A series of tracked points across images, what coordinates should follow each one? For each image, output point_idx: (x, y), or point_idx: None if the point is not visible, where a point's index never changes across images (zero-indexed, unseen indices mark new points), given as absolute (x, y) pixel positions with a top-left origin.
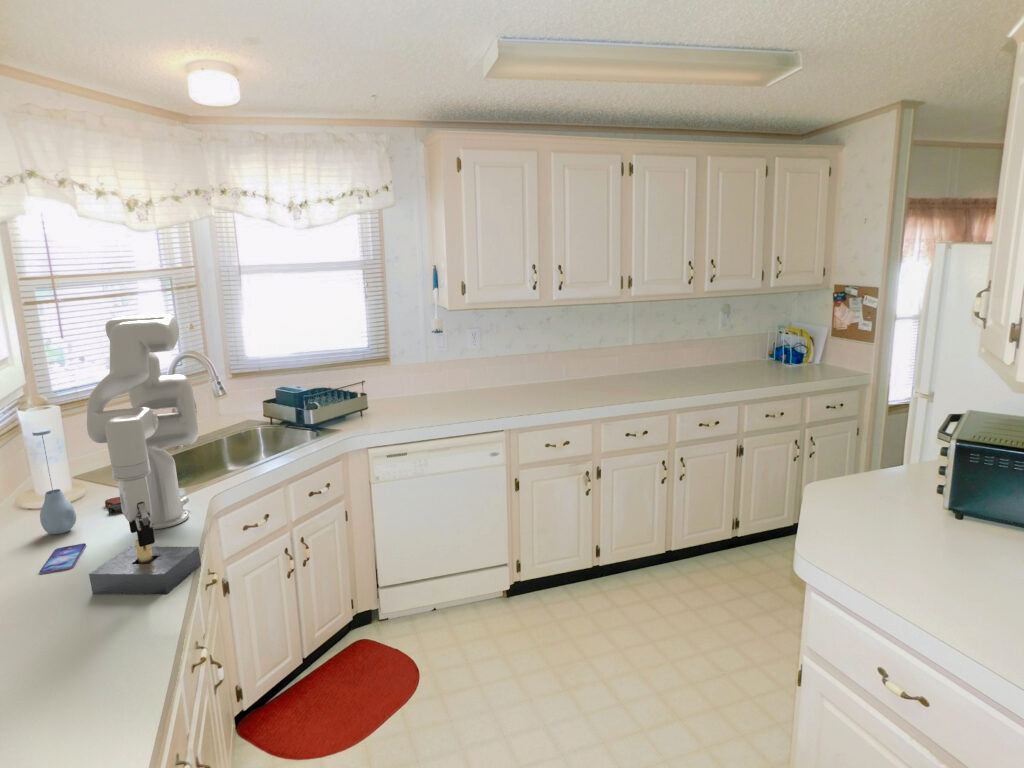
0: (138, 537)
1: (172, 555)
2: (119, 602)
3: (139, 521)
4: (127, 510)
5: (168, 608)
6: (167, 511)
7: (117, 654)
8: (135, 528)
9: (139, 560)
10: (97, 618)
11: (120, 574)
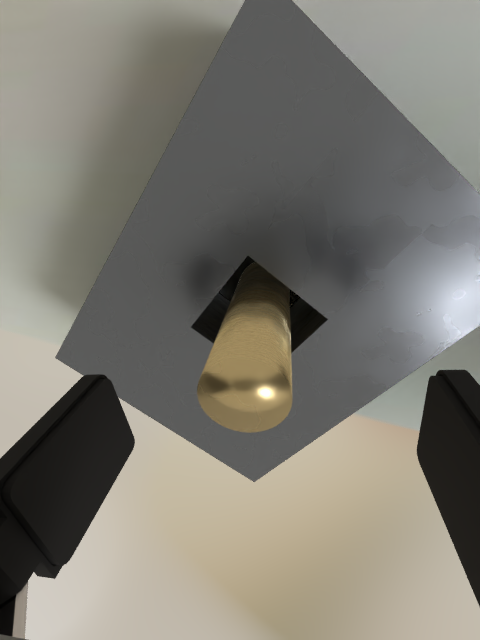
0: (30, 431)
1: None
2: (115, 169)
3: (465, 517)
4: None
5: (15, 308)
6: None
7: None
8: (439, 425)
9: (237, 301)
10: (7, 76)
11: (140, 197)
